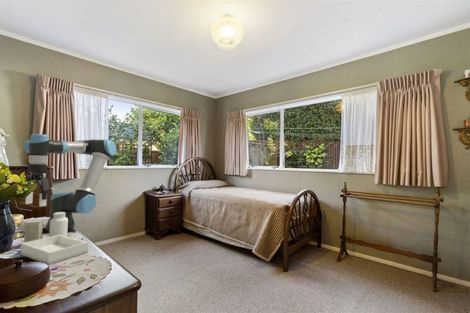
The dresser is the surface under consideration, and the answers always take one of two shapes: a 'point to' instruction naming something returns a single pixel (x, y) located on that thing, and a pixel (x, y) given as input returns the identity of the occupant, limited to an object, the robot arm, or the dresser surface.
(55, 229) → the pill bottle
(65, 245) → the tray
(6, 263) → the dresser surface
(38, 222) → the skincare box
